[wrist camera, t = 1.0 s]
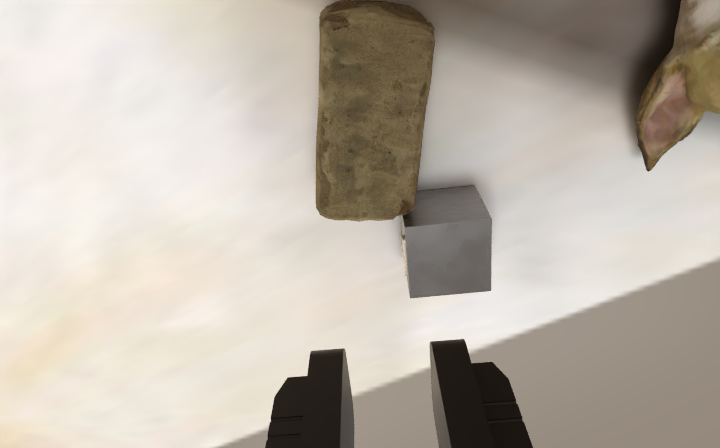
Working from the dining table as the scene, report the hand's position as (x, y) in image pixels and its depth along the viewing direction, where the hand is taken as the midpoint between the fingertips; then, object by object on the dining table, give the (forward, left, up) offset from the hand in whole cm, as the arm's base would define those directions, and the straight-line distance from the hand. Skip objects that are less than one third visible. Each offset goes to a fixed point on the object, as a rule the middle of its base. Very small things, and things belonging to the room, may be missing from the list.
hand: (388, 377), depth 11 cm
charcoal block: (-4, +9, -23) cm, 25 cm away
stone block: (0, 0, -23) cm, 23 cm away
